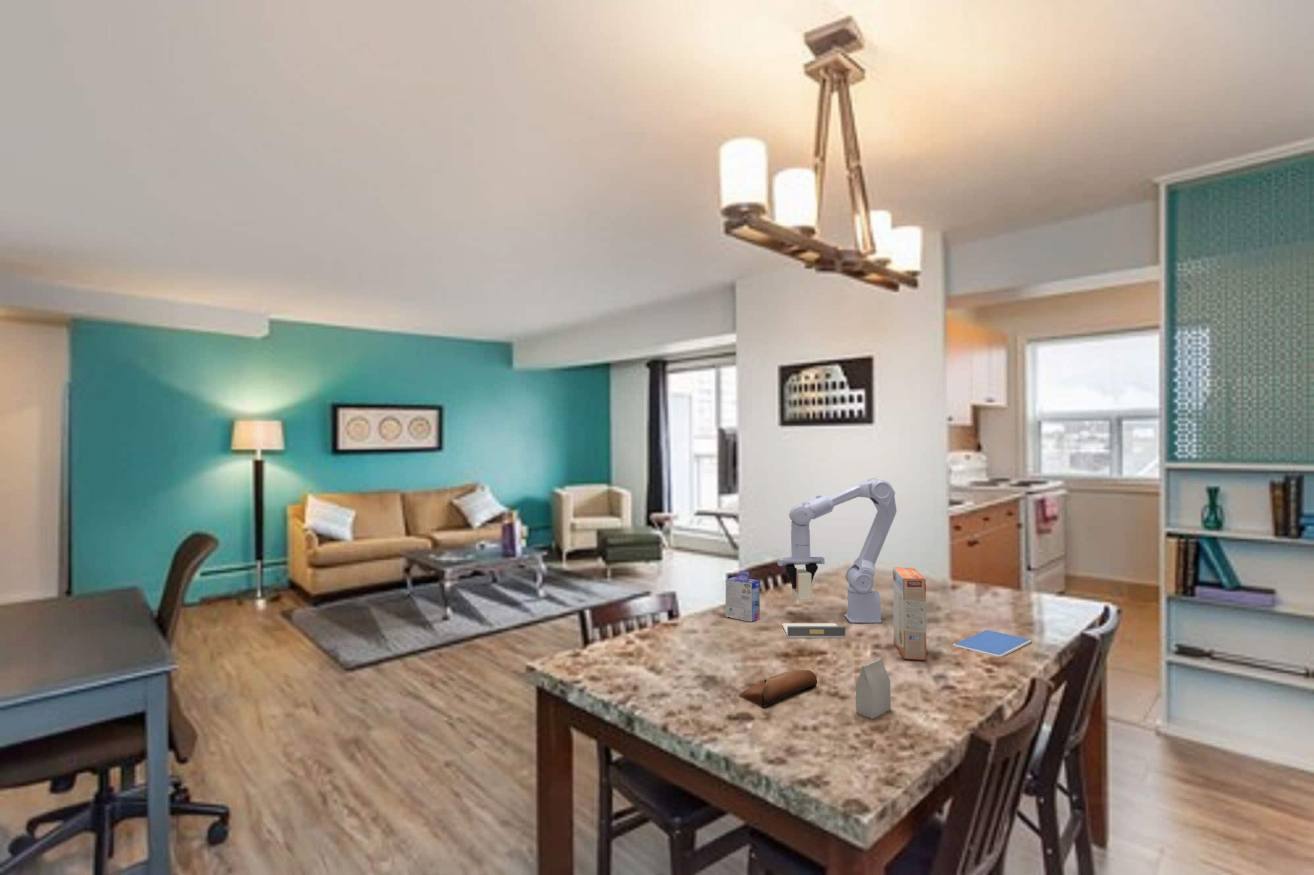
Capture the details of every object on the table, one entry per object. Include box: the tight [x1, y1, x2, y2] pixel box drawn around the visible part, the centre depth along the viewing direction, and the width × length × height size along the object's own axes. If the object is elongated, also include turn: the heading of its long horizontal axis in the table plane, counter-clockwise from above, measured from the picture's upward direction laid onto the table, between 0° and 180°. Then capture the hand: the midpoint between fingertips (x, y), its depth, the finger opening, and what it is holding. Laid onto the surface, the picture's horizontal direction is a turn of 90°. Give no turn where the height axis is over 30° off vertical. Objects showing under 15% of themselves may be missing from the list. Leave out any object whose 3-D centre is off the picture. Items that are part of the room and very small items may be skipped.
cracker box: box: [892, 567, 927, 661], centre depth 163 cm, size 14×6×21 cm, turn 168°
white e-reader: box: [781, 622, 846, 639], centre depth 181 cm, size 16×12×3 cm
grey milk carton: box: [855, 658, 892, 719], centre depth 128 cm, size 4×7×10 cm, turn 128°
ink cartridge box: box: [725, 570, 761, 623], centre depth 196 cm, size 10×6×14 cm, turn 53°
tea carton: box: [791, 568, 813, 601], centre depth 193 cm, size 4×7×8 cm, turn 5°
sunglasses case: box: [738, 669, 818, 708], centre depth 138 cm, size 18×7×7 cm, turn 129°
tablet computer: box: [952, 629, 1032, 658], centre depth 167 cm, size 19×13×1 cm, turn 127°
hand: (801, 587), depth 193 cm, fingers closed on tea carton, 4 cm apart
